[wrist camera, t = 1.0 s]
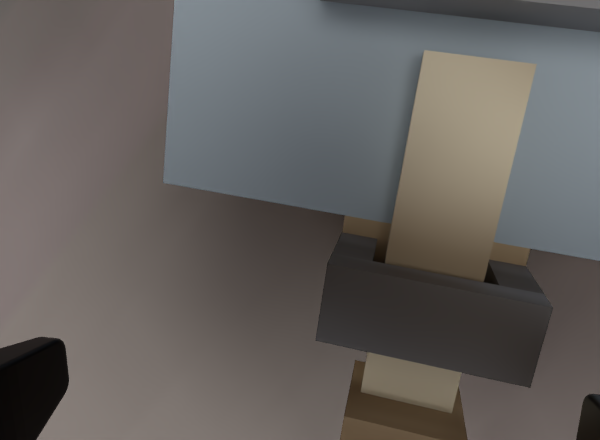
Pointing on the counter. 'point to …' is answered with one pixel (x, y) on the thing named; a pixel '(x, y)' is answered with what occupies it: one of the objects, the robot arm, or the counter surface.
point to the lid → (380, 104)
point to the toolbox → (434, 309)
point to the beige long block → (442, 228)
